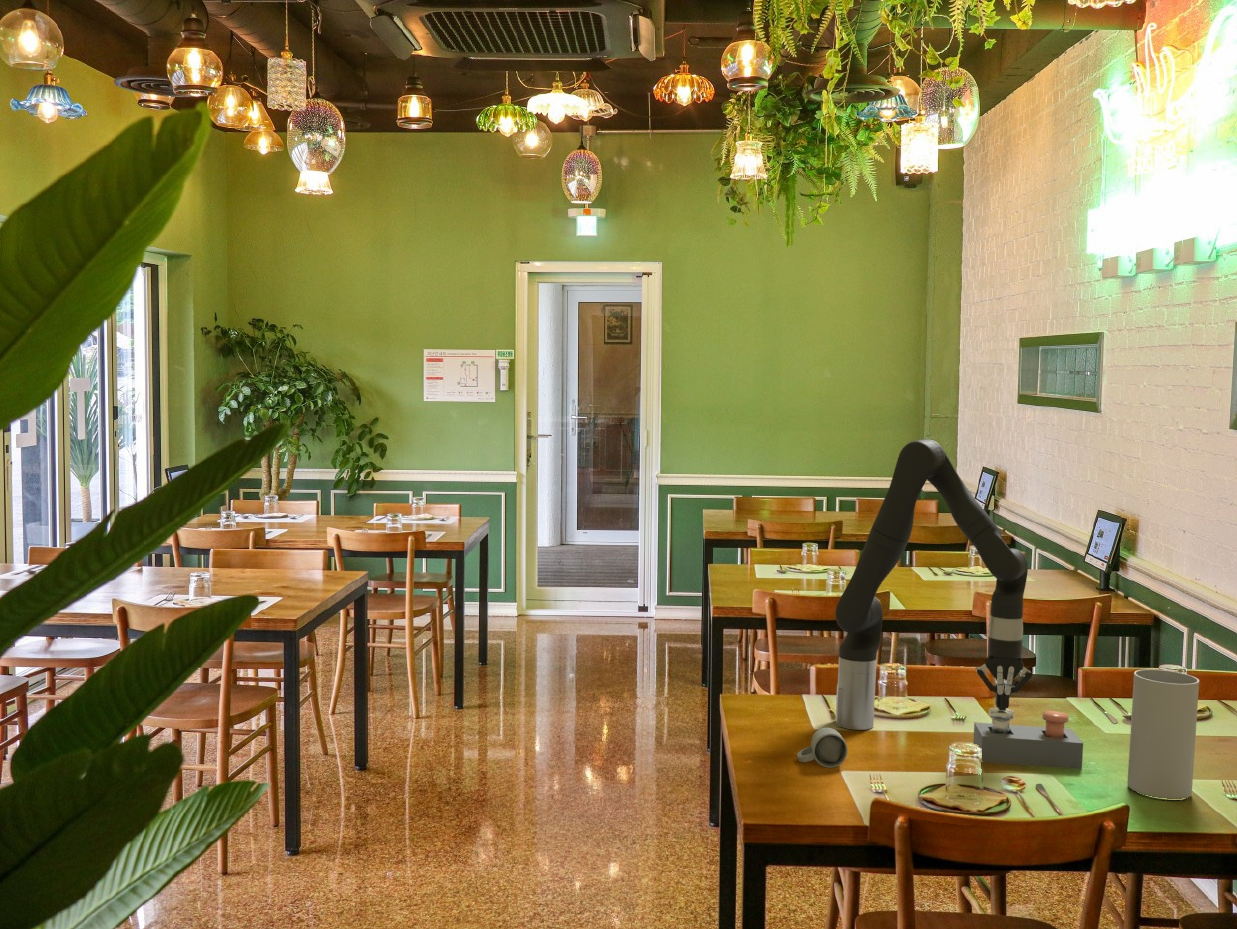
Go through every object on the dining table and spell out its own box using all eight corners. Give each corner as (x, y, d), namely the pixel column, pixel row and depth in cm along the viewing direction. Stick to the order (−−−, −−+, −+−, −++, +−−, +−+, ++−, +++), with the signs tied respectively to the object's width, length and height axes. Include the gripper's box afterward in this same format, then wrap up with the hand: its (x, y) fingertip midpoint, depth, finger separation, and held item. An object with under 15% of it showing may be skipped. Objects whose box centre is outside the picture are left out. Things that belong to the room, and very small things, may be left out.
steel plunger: (989, 739, 264) (991, 713, 263) (985, 732, 269) (987, 706, 269) (1015, 741, 263) (1016, 715, 262) (1010, 734, 268) (1011, 708, 268)
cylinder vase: (1114, 785, 249) (1121, 671, 247) (1156, 778, 254) (1163, 667, 252) (1161, 805, 237) (1169, 686, 235) (1205, 798, 242) (1212, 681, 240)
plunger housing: (981, 762, 262) (982, 736, 261) (973, 747, 272) (974, 722, 272) (1081, 769, 259) (1083, 743, 258) (1069, 754, 269) (1071, 728, 269)
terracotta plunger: (1044, 743, 262) (1045, 717, 262) (1038, 736, 268) (1040, 710, 267) (1069, 745, 261) (1071, 718, 261) (1063, 738, 267) (1065, 711, 266)
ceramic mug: (841, 756, 262) (842, 724, 262) (847, 768, 254) (848, 734, 254) (795, 756, 263) (795, 723, 262) (799, 767, 255) (800, 733, 254)
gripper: (978, 637, 262) (975, 712, 263) (1038, 640, 260) (1035, 716, 261) (973, 630, 269) (969, 703, 270) (1031, 634, 267) (1028, 707, 268)
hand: (1001, 709), depth 266 cm, fingers closed
